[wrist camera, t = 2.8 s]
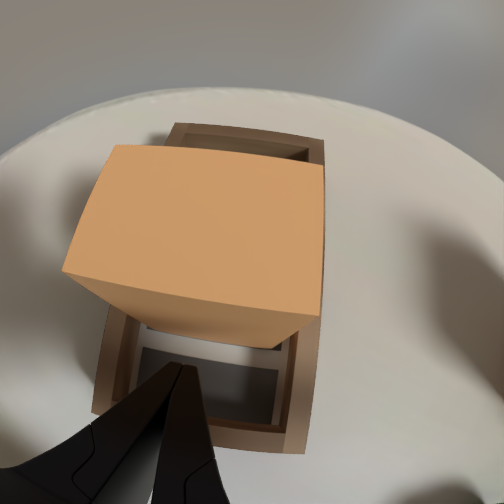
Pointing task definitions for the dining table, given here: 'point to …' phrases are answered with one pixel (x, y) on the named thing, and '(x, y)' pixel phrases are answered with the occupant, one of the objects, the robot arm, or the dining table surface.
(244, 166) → the block
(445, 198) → the dining table surface
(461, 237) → the dining table surface
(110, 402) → the tray
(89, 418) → the dining table surface
